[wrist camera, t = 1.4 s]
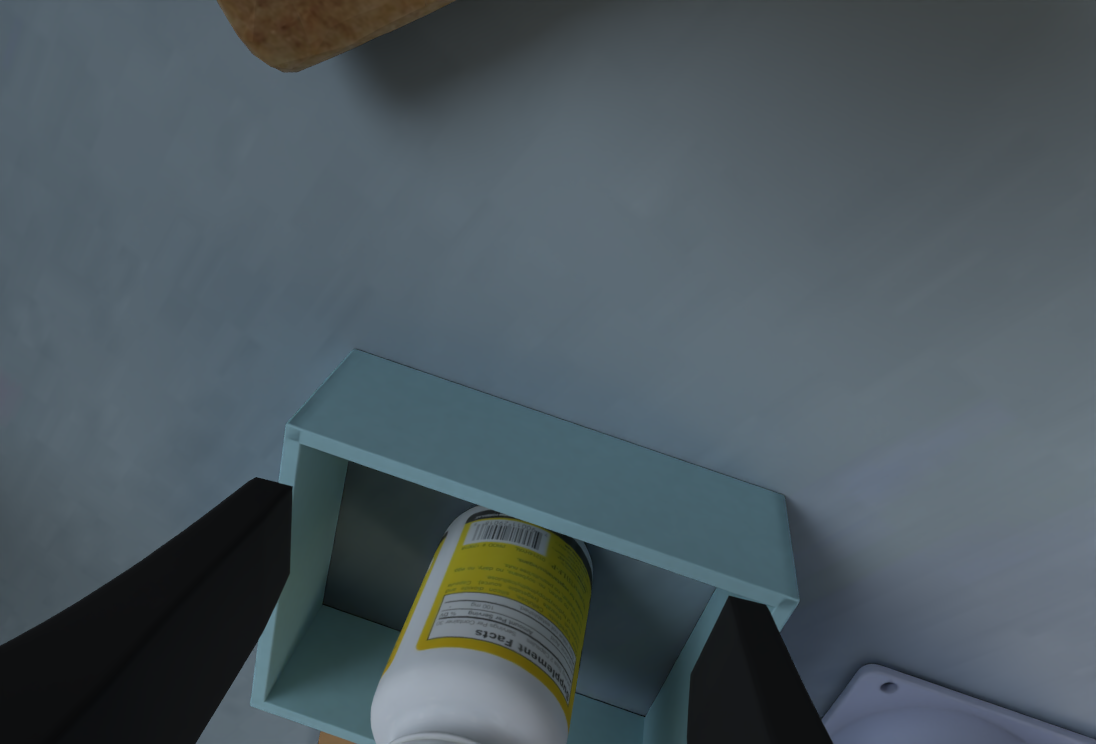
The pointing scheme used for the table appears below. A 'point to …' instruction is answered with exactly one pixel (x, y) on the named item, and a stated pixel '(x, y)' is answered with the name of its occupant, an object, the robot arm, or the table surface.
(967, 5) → the table surface
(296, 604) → the container
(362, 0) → the brown clay vase
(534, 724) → the supplement bottle
